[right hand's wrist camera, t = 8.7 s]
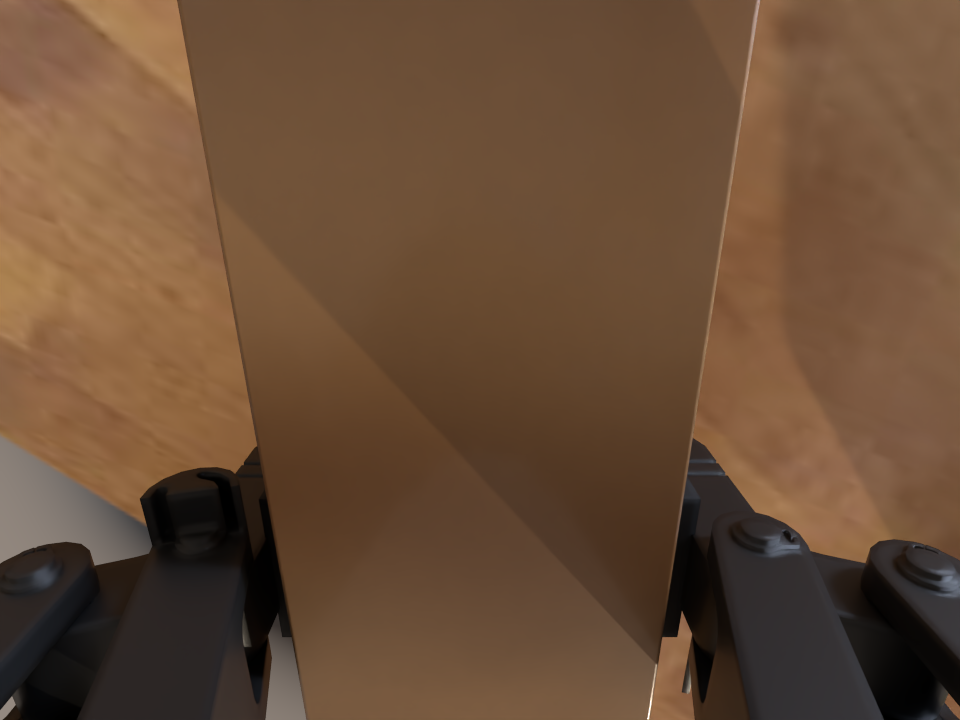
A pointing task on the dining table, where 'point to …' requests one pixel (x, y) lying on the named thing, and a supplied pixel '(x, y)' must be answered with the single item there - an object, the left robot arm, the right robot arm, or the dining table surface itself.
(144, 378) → the dining table surface
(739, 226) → the dining table surface
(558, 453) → the post
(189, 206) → the dining table surface
